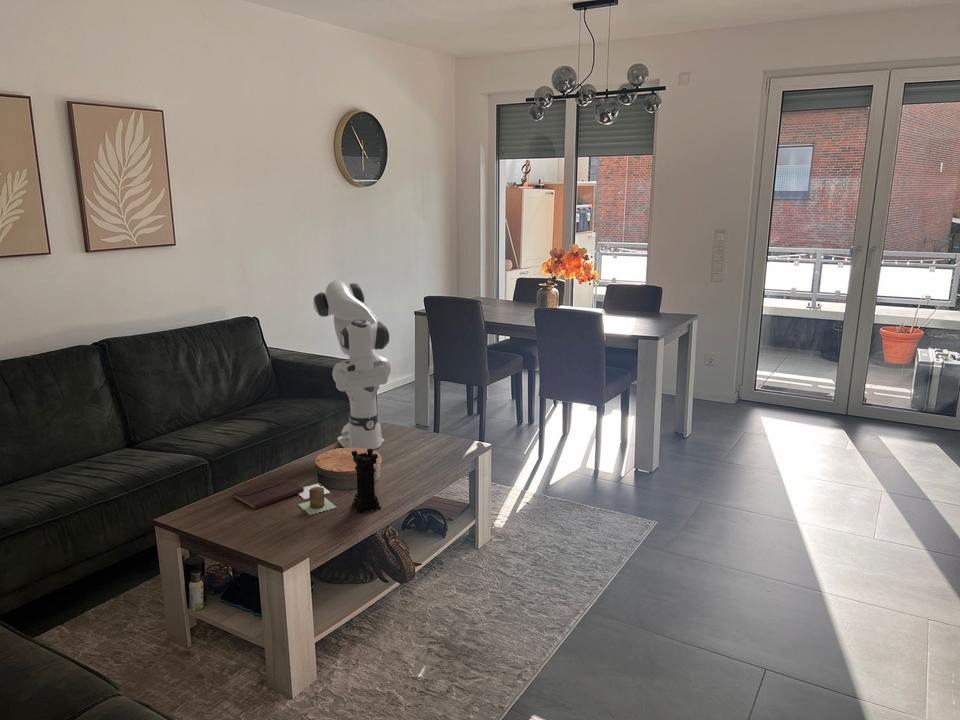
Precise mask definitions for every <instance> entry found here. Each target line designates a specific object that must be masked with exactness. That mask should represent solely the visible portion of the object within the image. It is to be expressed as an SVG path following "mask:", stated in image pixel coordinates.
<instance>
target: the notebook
mask: <svg viewBox="0 0 960 720" xmlns="http://www.w3.org/2000/svg"><path fill="white" fill-rule="evenodd" d="M303 487H304V486H301V485H299V484H297V483H295V482H293V481H291V480H289V479H287V478H286V477H284V476H282V475H281V476H278V477H275V478H273V479H269V480H268V481H267V480H266V481H264V482H261V483H258V484H256V485H253V486H249V487H247V488H244V489H241V490H237V491H234V492H233V498H234V499H236V500H238V501H240V502H241V503H243V504H245V505H246V506H249V507H250V508H252V509H254V510H258V509H260V508H262V507H264V506H267V505H270V504H273V503H276V502H278V501H281V500H284V499H287V498H289V497H292V496H295V495H298V493H300V492H303V491H304V488H303Z"/></svg>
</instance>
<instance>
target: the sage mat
mask: <svg viewBox="0 0 960 720" xmlns="http://www.w3.org/2000/svg"><path fill="white" fill-rule="evenodd" d="M324 502H325V506H324V507H322V508H319V509H313V508H311V507H310V500H308V501H307V502H301V503H299V504H298V505H299V506H298V505H297V506H298V507H299V508H301V509H302V510H303V511H304V510H305V511H306V512H307V513H308V514H309V516H312V515H311V514H314V515H316V514H315V513H317V514H320V513H319V512H321V513H324V512H323V511H325V512H327V510H328V511H331V509H332V510H335V508H336V509H337V506H336V505H335V504H334V503H332V502H331V501H330V500H329V499H327V498H326V497H325V496H324ZM305 511H304V512H305ZM306 512H305V513H306ZM307 513H306V514H307ZM308 514H307V515H308Z"/></svg>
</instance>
